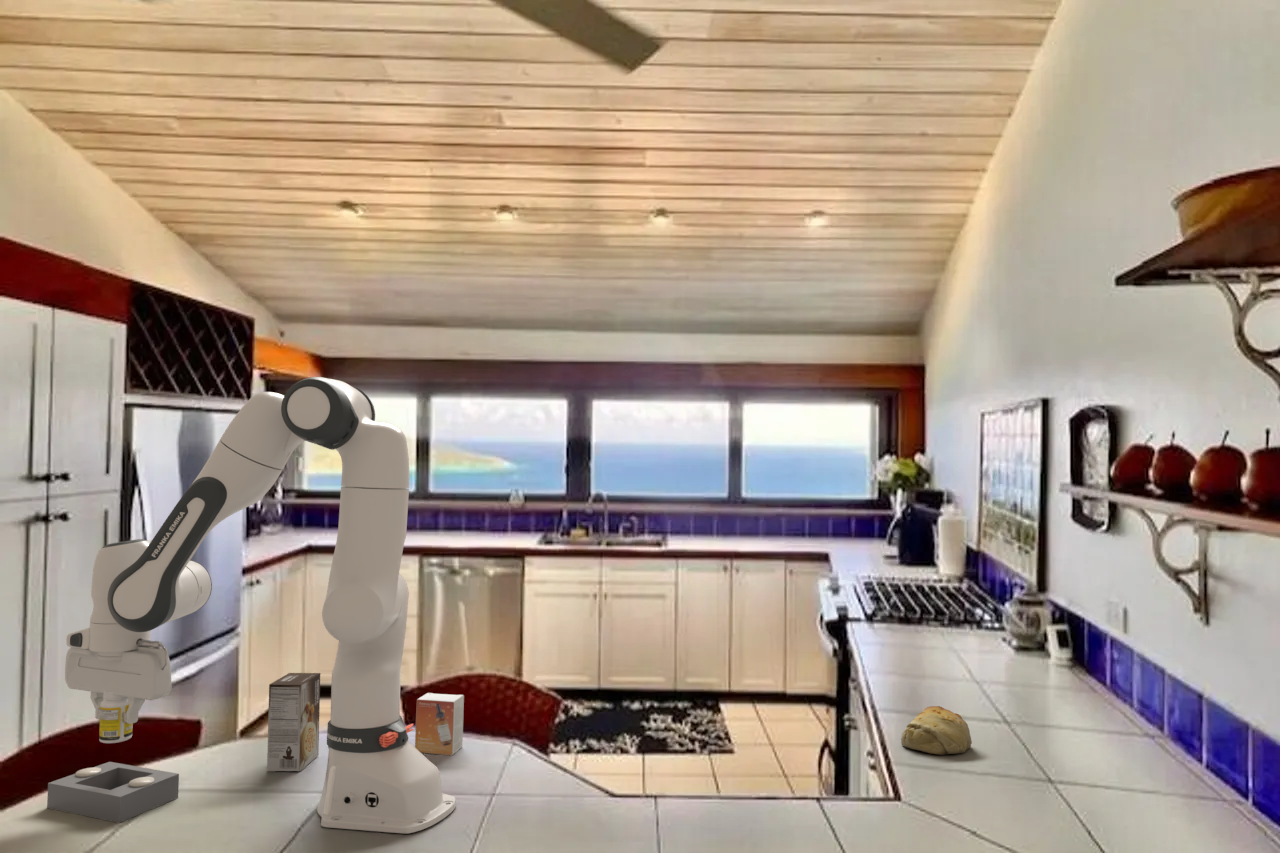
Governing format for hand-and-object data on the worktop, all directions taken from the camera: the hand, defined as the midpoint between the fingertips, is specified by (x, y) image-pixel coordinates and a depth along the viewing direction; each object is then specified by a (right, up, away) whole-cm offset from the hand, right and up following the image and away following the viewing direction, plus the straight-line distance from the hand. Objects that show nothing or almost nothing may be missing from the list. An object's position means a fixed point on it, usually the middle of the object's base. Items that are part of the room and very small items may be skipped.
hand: (116, 720), depth 145 cm
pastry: (+148, -17, +34) cm, 153 cm away
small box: (+47, -16, +28) cm, 57 cm away
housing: (0, -14, -1) cm, 14 cm away
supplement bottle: (0, -3, 0) cm, 3 cm away
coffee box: (+22, -15, +19) cm, 33 cm away
